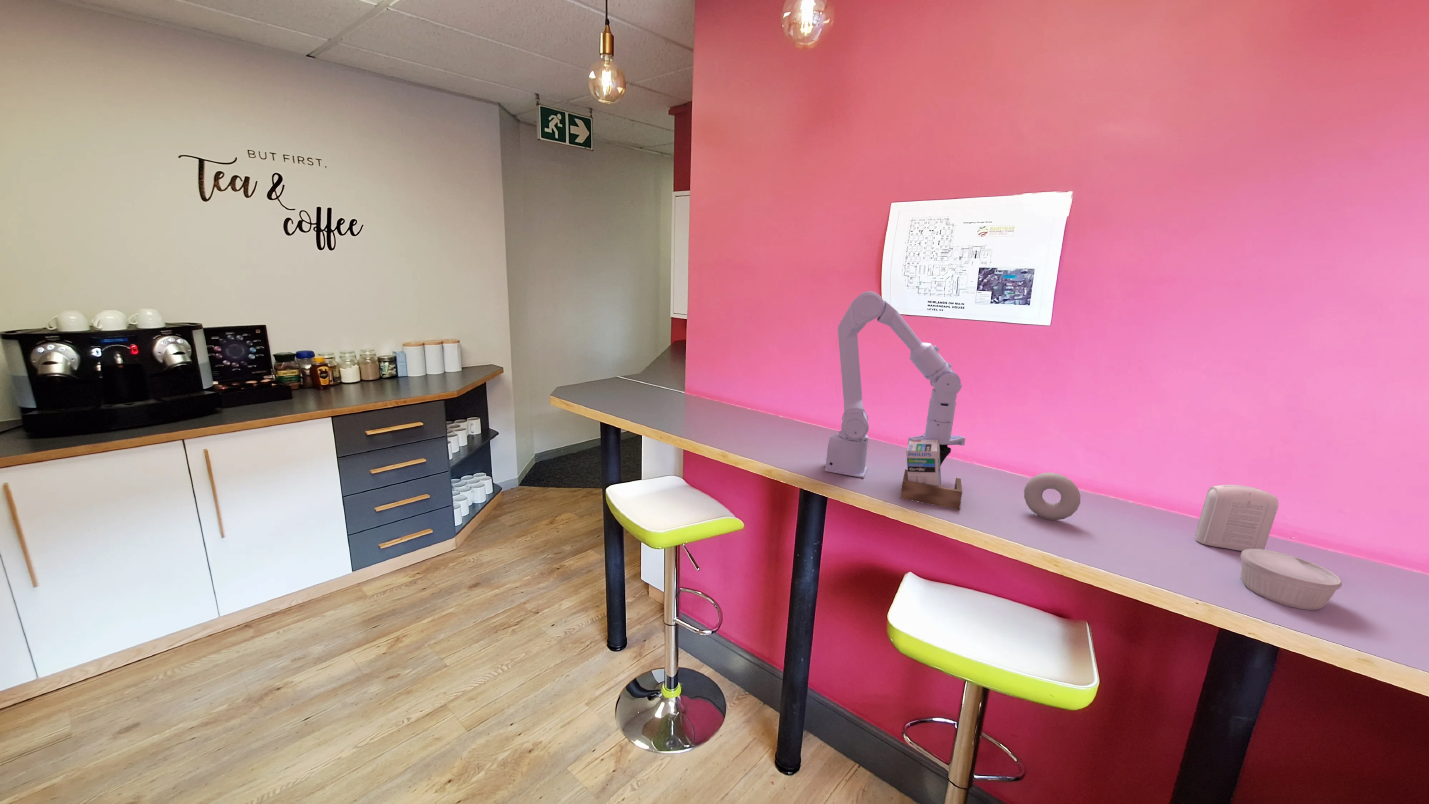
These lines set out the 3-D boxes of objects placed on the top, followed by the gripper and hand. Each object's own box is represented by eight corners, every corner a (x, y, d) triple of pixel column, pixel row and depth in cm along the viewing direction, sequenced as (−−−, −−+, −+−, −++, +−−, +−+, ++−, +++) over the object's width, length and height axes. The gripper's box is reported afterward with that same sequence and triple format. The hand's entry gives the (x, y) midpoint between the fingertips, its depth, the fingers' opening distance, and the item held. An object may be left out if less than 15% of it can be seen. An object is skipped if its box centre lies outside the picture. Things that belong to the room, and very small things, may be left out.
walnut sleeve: (900, 498, 119) (902, 481, 118) (902, 485, 127) (905, 469, 126) (959, 509, 115) (962, 492, 114) (958, 495, 123) (960, 478, 122)
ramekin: (1353, 615, 83) (1364, 584, 82) (1288, 615, 82) (1298, 584, 81) (1274, 576, 94) (1283, 548, 93) (1215, 575, 93) (1223, 547, 92)
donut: (1075, 522, 111) (1085, 477, 109) (1074, 528, 108) (1085, 481, 106) (1020, 509, 117) (1029, 465, 115) (1019, 514, 114) (1027, 469, 112)
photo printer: (1253, 546, 105) (1271, 487, 102) (1267, 557, 101) (1287, 495, 98) (1189, 536, 108) (1205, 478, 105) (1201, 546, 104) (1218, 486, 101)
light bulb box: (940, 498, 117) (938, 450, 115) (908, 497, 120) (905, 450, 118) (941, 483, 127) (939, 438, 125) (911, 482, 129) (909, 438, 128)
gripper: (954, 414, 133) (946, 467, 136) (903, 416, 129) (896, 469, 132) (974, 422, 126) (965, 477, 129) (921, 423, 122) (913, 480, 125)
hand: (931, 474), depth 130 cm, fingers closed
